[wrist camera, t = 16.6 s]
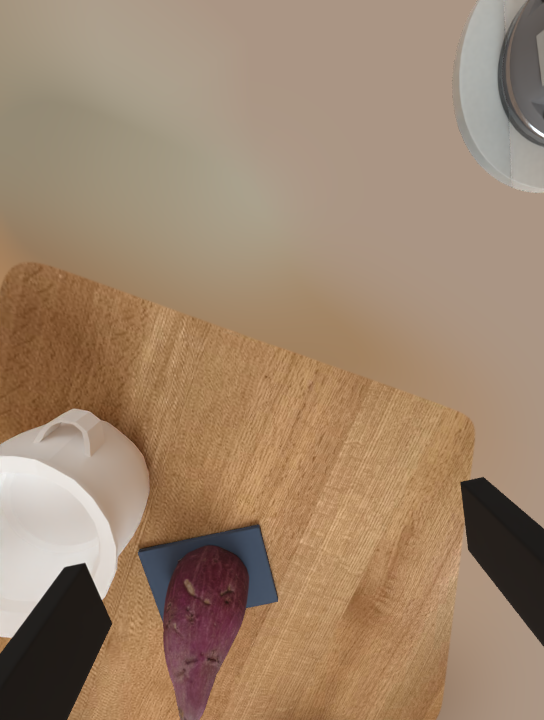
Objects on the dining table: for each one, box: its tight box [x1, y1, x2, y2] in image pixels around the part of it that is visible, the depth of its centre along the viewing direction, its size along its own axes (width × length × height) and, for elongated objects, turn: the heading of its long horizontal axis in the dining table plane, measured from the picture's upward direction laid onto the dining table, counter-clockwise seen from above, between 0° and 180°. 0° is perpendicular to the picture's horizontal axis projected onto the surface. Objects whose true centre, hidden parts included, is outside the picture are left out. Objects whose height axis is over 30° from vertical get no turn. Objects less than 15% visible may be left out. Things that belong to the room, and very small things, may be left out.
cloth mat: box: [138, 524, 278, 621], centre depth 41 cm, size 16×12×1 cm
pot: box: [0, 408, 150, 638], centre depth 32 cm, size 22×17×12 cm
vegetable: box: [163, 545, 249, 720], centre depth 35 cm, size 10×10×15 cm
